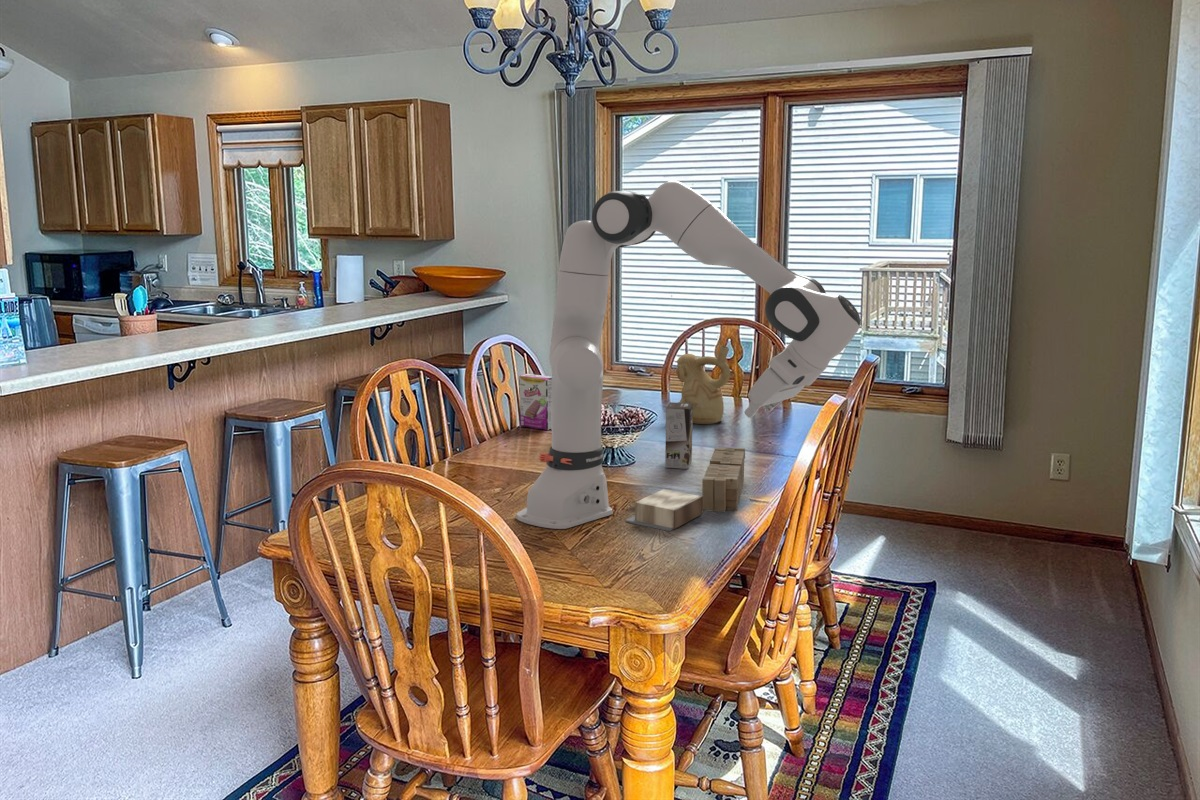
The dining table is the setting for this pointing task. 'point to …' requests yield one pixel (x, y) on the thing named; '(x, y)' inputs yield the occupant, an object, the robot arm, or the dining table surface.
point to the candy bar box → (535, 401)
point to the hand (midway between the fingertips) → (757, 412)
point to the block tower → (723, 479)
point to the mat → (648, 524)
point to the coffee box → (678, 435)
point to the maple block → (668, 508)
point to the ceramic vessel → (703, 386)
